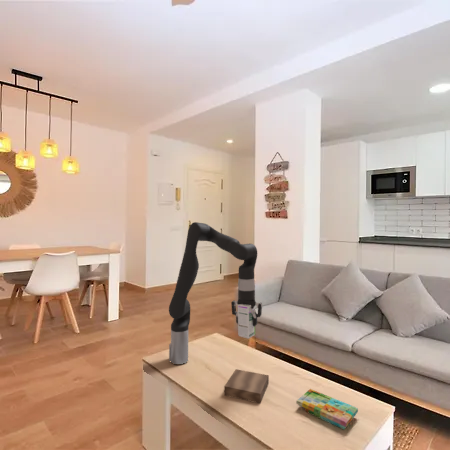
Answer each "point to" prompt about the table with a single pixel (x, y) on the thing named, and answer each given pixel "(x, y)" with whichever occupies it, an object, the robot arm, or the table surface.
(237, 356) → the table surface
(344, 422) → the puzzle game
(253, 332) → the syrup box
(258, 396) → the walnut base
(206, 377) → the table surface
